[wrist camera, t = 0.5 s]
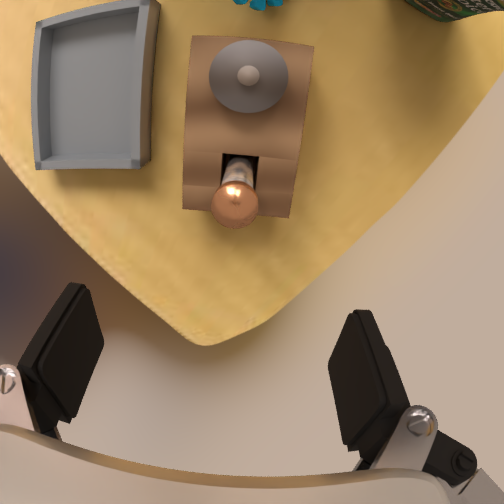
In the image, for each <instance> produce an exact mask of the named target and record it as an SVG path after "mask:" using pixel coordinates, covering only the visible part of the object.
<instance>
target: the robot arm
mask: <svg viewBox="0 0 504 504" xmlns="http://www.w3.org/2000/svg"><path fill="white" fill-rule="evenodd" d="M103 346H104V339H103V335H102V332H101V329H100V326H99V322H98V319H97V315H96V312H95V308H94V305H93V301H92V297H91V294H90V290H89V289H87V288H86V286H85V285H84V284H79V283H72V282H71V283H69V284H68V285H67V287H66V288H65V289H64V291H63V292H62V294H61V295H60V297H59V298H58V300H57V301H56V303H55V304H54V306H53V307H52V309H51V310H50V312H49V313H48V315H47V316H46V318H45V319H44V321H43V322H42V324H41V326H40V327H39V329H38V330H37V332H36V334H35V335H34V337H33V338H32V340H31V342H30V343H29V345H28V347H27V348H26V350H25V352H24V354H23V355H22V357H21V359H20V361H19V363H18V366H17V368H16V367H14V366H12V365H8V364H5V365H1V366H0V504H504V493H503V491H502V490H501V489H500V488H499V487H498V486H497V485H496V484H495V482H494V481H493V480H492V479H491V478H490V477H489V476H488V475H487V474H486V473H485V472H484V470H483V469H482V468H480V469H477V459H476V456H475V454H474V453H473V451H472V450H470V449H469V448H468V447H466V446H464V445H462V444H461V443H459V442H457V441H456V440H454V439H452V438H451V437H449V436H447V435H446V434H444V433H442V432H440V431H439V430H437V429H438V422H437V419H436V417H435V415H434V414H433V412H432V411H431V410H429V409H428V408H426V407H424V406H420V405H414V406H410V403H409V400H408V397H407V394H406V392H405V389H404V386H403V383H402V381H401V378H400V375H399V373H398V370H397V368H396V365H395V362H394V360H393V357H392V355H391V352H390V350H389V348H388V347H387V346H386V345H385V343H384V340H383V338H382V335H381V333H380V331H379V328H378V326H377V323H376V321H375V319H374V316H373V314H372V312H371V311H370V310H354V311H353V313H350V314H349V315H348V317H347V319H346V322H345V324H344V326H343V329H342V331H341V334H340V336H339V338H338V341H337V343H336V345H335V348H334V350H333V352H332V355H331V357H330V359H329V362H328V371H329V375H330V380H331V385H332V390H333V395H334V399H335V405H336V409H337V415H338V420H339V425H340V431H341V436H342V441H343V444H344V445H347V447H348V452H349V451H357V450H359V453H360V457H361V458H360V460H359V462H358V463H357V465H356V466H355V468H354V469H353V471H352V472H343V473H335V474H321V475H307V476H285V477H252V476H229V475H215V474H205V473H195V472H188V471H180V470H174V469H167V468H161V467H156V466H151V465H145V464H140V463H136V462H131V461H127V460H123V459H119V458H115V457H111V456H107V455H104V454H100V453H97V452H93V451H90V450H87V449H83V448H80V447H77V446H74V445H71V444H68V443H65V442H63V441H62V439H61V436H60V434H59V431H58V429H57V423H58V421H59V420H60V421H63V422H66V423H69V424H70V422H71V420H72V418H75V417H76V415H77V413H78V410H79V407H80V404H81V402H82V399H83V396H84V394H85V391H86V388H87V386H88V383H89V381H90V378H91V376H92V373H93V371H94V368H95V366H96V364H97V361H98V358H99V356H100V354H101V351H102V349H103Z"/></svg>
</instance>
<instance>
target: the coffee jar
mask: <svg viewBox="0 0 504 504" xmlns="http://www.w3.org/2000/svg"><path fill="white" fill-rule="evenodd" d="M405 1H406V2H408V3H409V4H411V5H412V6H414V7H415V8H417V9H418V10H420V11H421V12H423V13H425V14H426V15H428V16H430V17H432V18H433V19H435V20H437V21H440V22H450V21H455V20H460V19H463V18H466V17H469V16H473V15H477V14H481V13H487V12H492V11H504V0H405Z"/></svg>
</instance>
